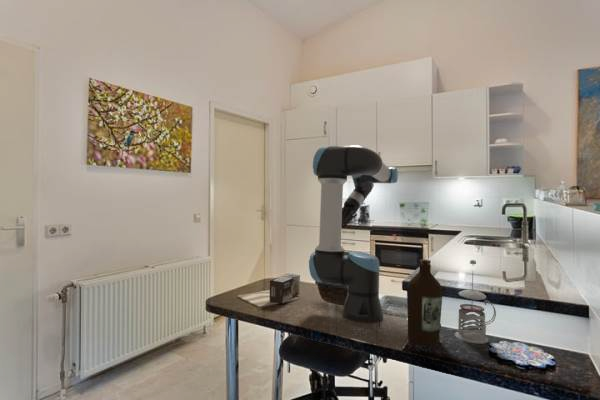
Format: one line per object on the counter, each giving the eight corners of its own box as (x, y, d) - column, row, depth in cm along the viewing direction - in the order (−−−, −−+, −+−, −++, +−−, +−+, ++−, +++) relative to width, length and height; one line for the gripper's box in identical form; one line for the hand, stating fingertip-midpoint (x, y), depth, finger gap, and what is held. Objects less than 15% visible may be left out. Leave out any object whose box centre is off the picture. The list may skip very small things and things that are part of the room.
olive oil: (399, 334, 112) (401, 257, 112) (427, 331, 115) (429, 257, 115) (418, 347, 102) (420, 263, 102) (449, 344, 105) (450, 262, 105)
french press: (453, 329, 117) (455, 256, 118) (491, 334, 114) (493, 259, 114) (456, 340, 108) (457, 261, 108) (497, 346, 104) (499, 264, 104)
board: (298, 299, 149) (298, 298, 149) (259, 307, 136) (259, 306, 136) (275, 290, 163) (275, 289, 163) (237, 297, 150) (237, 295, 150)
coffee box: (287, 273, 157) (269, 279, 142) (300, 274, 154) (283, 281, 140) (287, 293, 157) (268, 301, 142) (299, 295, 154) (282, 304, 140)
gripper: (367, 208, 171) (343, 243, 160) (347, 207, 181) (323, 240, 170) (360, 197, 168) (335, 232, 157) (341, 197, 178) (316, 230, 167)
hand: (329, 236), depth 164 cm, fingers closed
